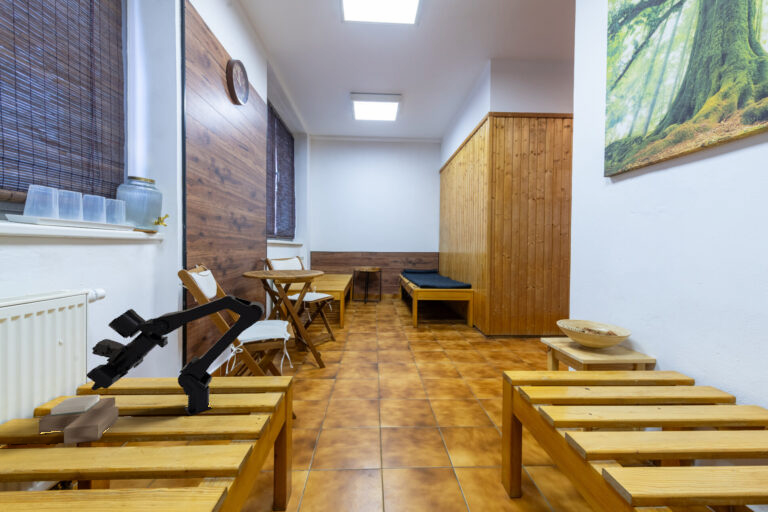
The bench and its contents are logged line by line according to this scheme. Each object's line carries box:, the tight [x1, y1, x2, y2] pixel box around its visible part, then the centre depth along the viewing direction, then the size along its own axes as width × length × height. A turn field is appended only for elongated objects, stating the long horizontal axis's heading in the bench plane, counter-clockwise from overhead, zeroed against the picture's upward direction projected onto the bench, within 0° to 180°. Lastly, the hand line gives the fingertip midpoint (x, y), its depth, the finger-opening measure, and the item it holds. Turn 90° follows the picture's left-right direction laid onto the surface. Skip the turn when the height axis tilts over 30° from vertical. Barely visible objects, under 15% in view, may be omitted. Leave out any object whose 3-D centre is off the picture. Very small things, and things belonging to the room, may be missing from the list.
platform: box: [38, 396, 119, 445], centre depth 84 cm, size 16×16×4 cm
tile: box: [50, 394, 101, 416], centre depth 86 cm, size 2×6×8 cm
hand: (93, 389), depth 88 cm, fingers closed
